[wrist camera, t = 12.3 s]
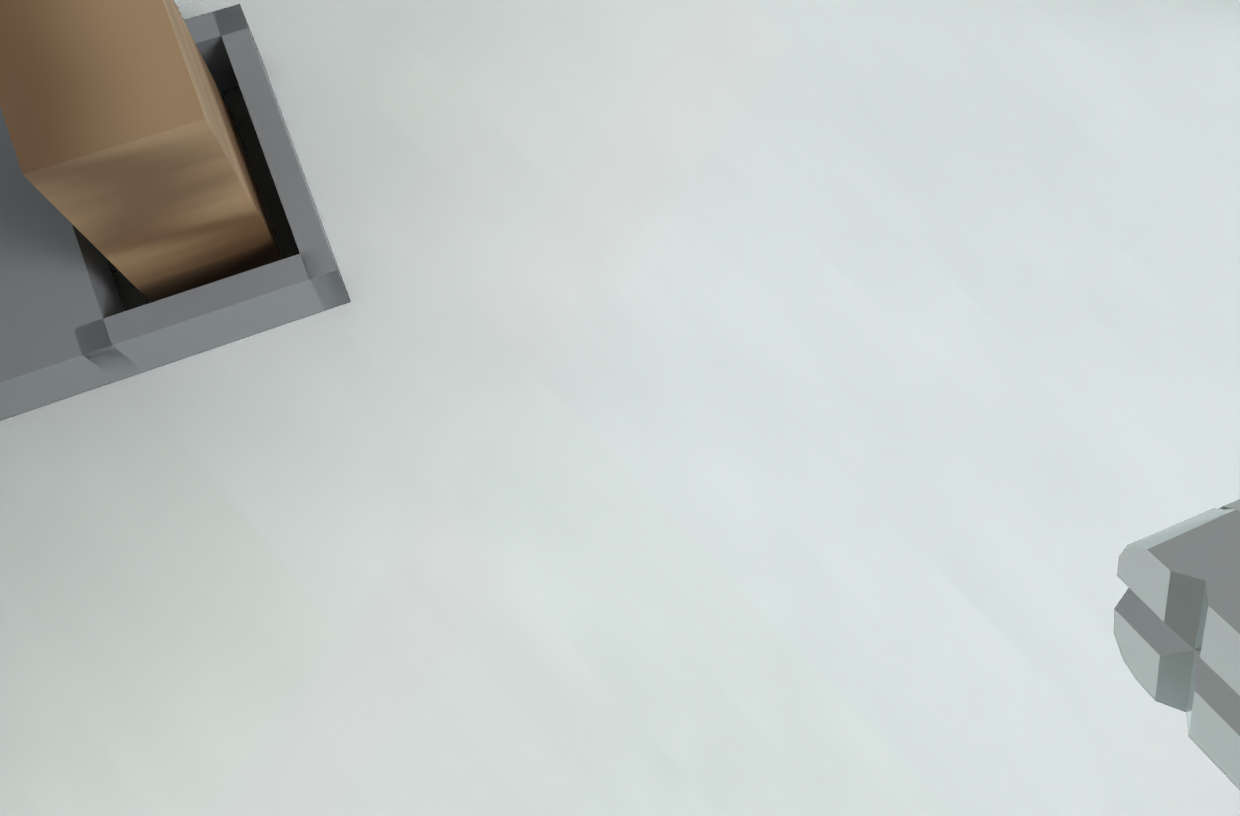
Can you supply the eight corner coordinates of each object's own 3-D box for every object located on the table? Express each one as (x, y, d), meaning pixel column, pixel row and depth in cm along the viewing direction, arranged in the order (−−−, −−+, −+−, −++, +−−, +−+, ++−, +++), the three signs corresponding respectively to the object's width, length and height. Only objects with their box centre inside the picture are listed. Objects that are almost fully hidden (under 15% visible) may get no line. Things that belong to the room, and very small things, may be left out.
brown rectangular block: (228, 106, 36) (129, -94, 27) (286, 264, 36) (204, 118, 26) (100, 145, 36) (-50, -45, 26) (156, 307, 35) (22, 174, 25)
